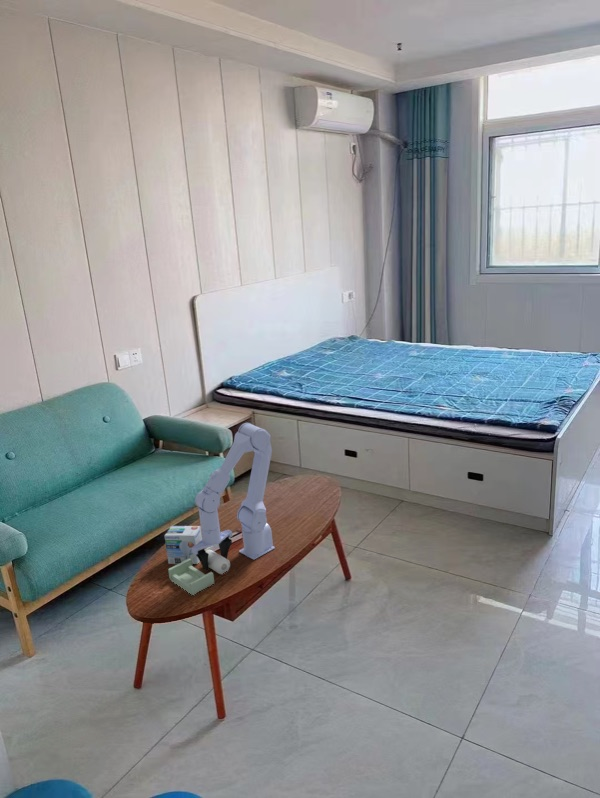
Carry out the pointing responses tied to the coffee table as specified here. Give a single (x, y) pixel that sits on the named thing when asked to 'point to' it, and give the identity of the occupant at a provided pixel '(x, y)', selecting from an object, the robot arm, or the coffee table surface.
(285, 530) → the coffee table surface
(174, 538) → the light bulb box
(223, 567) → the roll
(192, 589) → the holder
